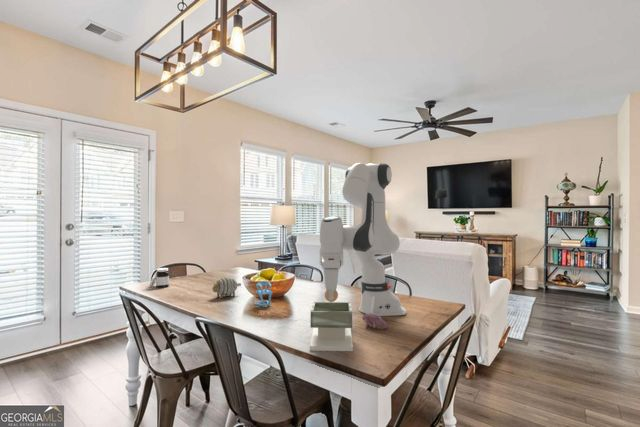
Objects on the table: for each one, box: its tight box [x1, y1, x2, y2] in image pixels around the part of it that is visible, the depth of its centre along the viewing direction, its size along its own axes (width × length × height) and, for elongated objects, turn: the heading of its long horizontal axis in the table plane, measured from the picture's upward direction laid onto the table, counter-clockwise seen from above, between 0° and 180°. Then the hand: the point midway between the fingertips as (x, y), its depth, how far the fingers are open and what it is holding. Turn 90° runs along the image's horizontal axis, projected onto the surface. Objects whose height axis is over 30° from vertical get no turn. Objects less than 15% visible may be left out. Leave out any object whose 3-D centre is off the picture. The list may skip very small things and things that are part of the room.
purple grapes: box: [362, 313, 388, 330], centre depth 138 cm, size 10×5×7 cm, turn 46°
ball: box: [324, 289, 339, 302], centre depth 123 cm, size 5×5×5 cm
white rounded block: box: [149, 267, 170, 289], centre depth 216 cm, size 12×11×12 cm
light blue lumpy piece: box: [253, 280, 273, 308], centre depth 173 cm, size 8×8×12 cm
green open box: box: [310, 301, 353, 329], centre depth 130 cm, size 30×15×6 cm, turn 177°
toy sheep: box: [212, 276, 242, 299], centre depth 190 cm, size 11×17×11 cm, turn 133°
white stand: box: [309, 328, 354, 352], centre depth 131 cm, size 32×15×8 cm, turn 177°
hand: (331, 297), depth 123 cm, fingers closed on ball, 5 cm apart
